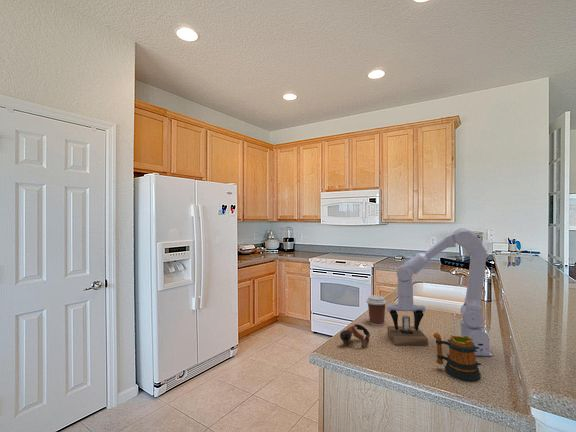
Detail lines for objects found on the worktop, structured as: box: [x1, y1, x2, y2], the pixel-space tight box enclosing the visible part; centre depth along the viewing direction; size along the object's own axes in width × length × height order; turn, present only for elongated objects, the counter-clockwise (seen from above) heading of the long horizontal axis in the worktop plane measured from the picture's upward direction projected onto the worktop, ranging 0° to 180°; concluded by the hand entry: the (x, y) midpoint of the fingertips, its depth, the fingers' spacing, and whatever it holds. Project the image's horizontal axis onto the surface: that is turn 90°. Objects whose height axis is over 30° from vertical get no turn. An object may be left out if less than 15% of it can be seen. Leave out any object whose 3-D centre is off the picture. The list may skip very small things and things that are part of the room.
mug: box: [432, 332, 482, 383], centre depth 92 cm, size 13×10×12 cm
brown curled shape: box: [339, 323, 371, 349], centre depth 113 cm, size 12×10×8 cm
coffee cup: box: [366, 294, 388, 326], centre depth 136 cm, size 9×9×12 cm
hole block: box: [387, 325, 429, 347], centre depth 117 cm, size 12×12×3 cm
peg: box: [401, 314, 411, 334], centre depth 117 cm, size 3×3×9 cm
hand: (406, 329), depth 117 cm, fingers open, 7 cm apart
